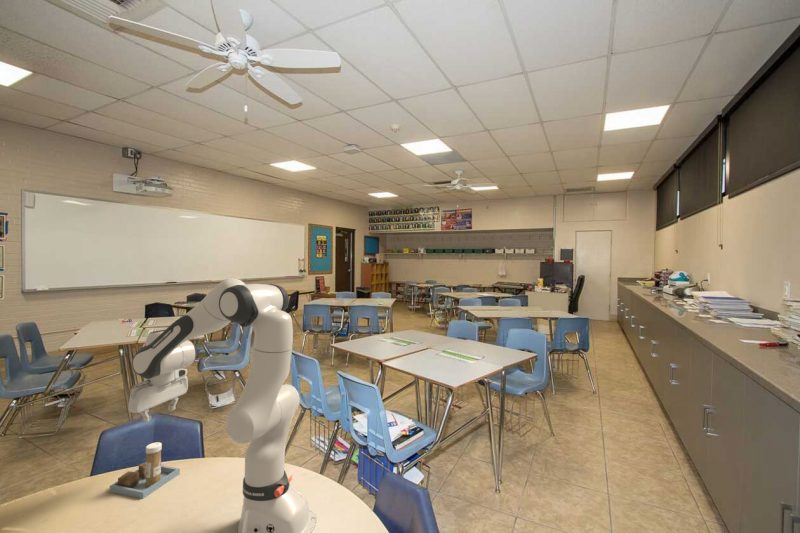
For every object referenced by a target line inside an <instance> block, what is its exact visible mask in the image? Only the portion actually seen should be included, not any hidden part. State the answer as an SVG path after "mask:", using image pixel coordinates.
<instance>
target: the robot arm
mask: <svg viewBox="0 0 800 533" xmlns="http://www.w3.org/2000/svg"><path fill="white" fill-rule="evenodd" d="M289 304H290V298H289V294H288V292H287V290H286V289H285V287H283V286H280V285H278V284H274V283H273V284H272V283H269V284H265V283H247V284H246V283H245V282H243V280H241V279H239V278H236V277H234V278H233V277H229V278H226V279H223V280H222V281H221V282H219V283H218V284H217V285H216V286H214V287H213V288H212V289H211V290H210V291H209V292H208V293H207V294H206V295H205V297H203V299H201V301H200V302H199V303H197V304H196V305H195V306H194V307H192V308H191V309H190V310H189V311H187V312H186V313H185V314H183V315H182V316H181V317H179V318H178V319H177V320H175V321H173V323H171V324H170V325H169V326H168V327H167V328H165V329H161V330H156V331H155V330H154V331H151V332H150V333H148V334H147V337H146V340H145V344H144V346H142V347H140V348H139V349H138V351H136V353H135V354H134V356H133V358H132V364H131V366H132V370H133V372H134V373H135V374H136V375H138V376H139V377H142V378H143V379H144V381H141V382H138V383H135V384H134V385H133V386H132V388H131V389H130V394H129V399H128V400H129V401H128V407H127V408H128V409H127V410H128V411H129V412H130V413H133V414H139V413H140V416H142V419H143V420H142V421H143V422H144V423H149V422H150V421H152V415H149V412H150V411H149V410H150V409H151V408H154V407H156V406H159V405H161V404H163V403H166V402H169V401H170V403H169V405H168V406H167V410H168V412H173V411H174V410H176V405H177V403H178V401H179V397H181V396H183V395H185V394H187V392H188V390H189V389H188V388H189V381H188V380H189V378H188V376H187V374H188V369H187V367H190V366H192V365H193V364H194V363H195V361H196V359H197V355H198V350H197V346H196V344H195V343H193V341H192V340H191V339H195V338H197V337H200V336H204V335H207V334H212V333H215V332H218V331H221V330H223V328H225V327H226V326H228V325H229V324H230V323H231V322H233V323H236V324H237V325H240V326H241V327H243V328H246V327H249V326H250V325H251V327H252V328H253V330H254V331H253V332H254V334H253V335H254V337H253V343H252V344H253V345H252V352H251V361H250V362H251V363H250V367H249V368H250V369H249V374H248V377H247V380H246V383H245V385H244V387H243V389H242V392H241V394H240V395H239V396H240V397H239V398H238V400H237V402H236V403H235V405H234V406H233V408H232V409H231V410H230V411H229V413H228V414H227V416H226V418H225V425H224V426H225V431H226V433H227V435H228V437H229V439H230V440H231V441H233V442H235V443H237V444H240V445H242V444H247V443H249V444H248V446H247V449H246V451H245V454H244V477H243V479H242V480H243V481H242V495H243V501H242V502H243V504H242V510H241V514H240V519H239V522H238V525H237V533H309V532H310V531H311V530H312V528H313V526H314V524H315V522H316V523H317V520H316V518H317V513H316V512H314V511H313V510H310V509H309V508H310V507H309V504H308V503H309V502H308V501H307V498H306V497H304V496H303V495H302V494H301V493H300V492H299V491H298V490H296V489H295V488H294V487H293V486H292V485H291V484H290V483H291V481H292V480H293V475H290V476H289V478H288V475H287V473H286V470H285V460H286V459H285V458H286V457H285V456H286V455H285V454H286V446H287V440H288V436H289V432H290V428H291V424H292V421H293V418H294V416H295V414H296V412H297V410H298V408H299V406H300V404H301V398H300V393H299V392H298V390H297V389H296V387H295V386H294V385H291V384H290V383H289V384H287V383H286V384H284V383H285V381H286V380H287V378H288V377H289V374H290V372H291V371H290V370H291V362H292V354H293V343H294V342H293V341H294V328H293V326H294V325H293V319H292V316H291V315H290V314H289V313H288V312H287V311H286V310H287V309H288V307H289ZM312 519H314V520H313V521H312ZM315 525H316V524H315ZM312 531H313V530H312Z"/></svg>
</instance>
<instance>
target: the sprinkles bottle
mask: <svg viewBox="0 0 800 533" xmlns="http://www.w3.org/2000/svg"><path fill="white" fill-rule="evenodd" d="M162 445H163V444H162V442H159V441H156V442H152V443H150V444H148V445H146V446H145V455H146V456H145V462H146V484H145V486H146V487H150V486H152V485H153V484H155V483H156V482H158V481H159V480H161V465H162V449H163V447H162Z"/></svg>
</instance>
